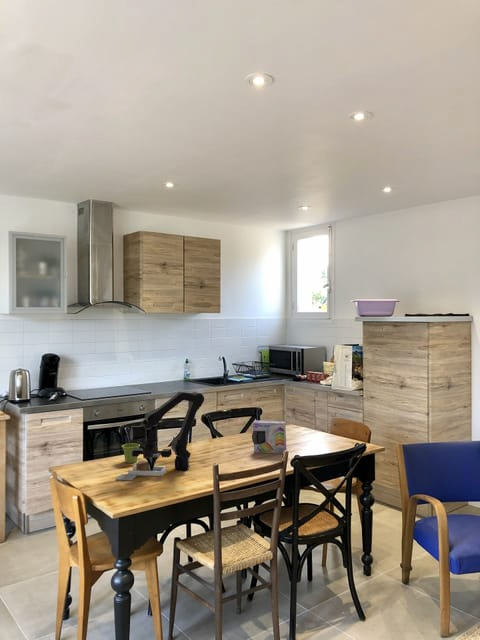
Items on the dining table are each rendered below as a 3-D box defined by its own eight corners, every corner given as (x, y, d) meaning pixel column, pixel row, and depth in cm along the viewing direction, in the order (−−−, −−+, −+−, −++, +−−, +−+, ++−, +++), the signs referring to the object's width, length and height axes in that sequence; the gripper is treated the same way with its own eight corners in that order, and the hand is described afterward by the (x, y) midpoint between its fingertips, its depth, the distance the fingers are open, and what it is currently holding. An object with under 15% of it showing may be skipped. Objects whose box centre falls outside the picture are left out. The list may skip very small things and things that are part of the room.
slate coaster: (137, 475, 250) (137, 474, 250) (132, 480, 242) (132, 479, 242) (121, 475, 251) (121, 474, 251) (115, 480, 243) (115, 479, 243)
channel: (166, 470, 259) (166, 466, 259) (161, 475, 249) (161, 471, 249) (133, 469, 260) (133, 465, 260) (128, 474, 251) (128, 470, 251)
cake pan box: (251, 452, 293) (251, 421, 293) (254, 450, 298) (253, 419, 298) (284, 454, 288) (284, 423, 288) (286, 452, 293) (286, 421, 293)
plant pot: (122, 464, 269) (122, 448, 269) (121, 460, 278) (121, 443, 278) (140, 463, 272) (140, 446, 272) (139, 458, 281) (139, 442, 281)
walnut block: (149, 471, 257) (149, 461, 257) (146, 474, 252) (146, 463, 252) (139, 470, 258) (139, 460, 258) (136, 473, 253) (136, 463, 253)
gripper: (128, 441, 248) (128, 474, 248) (166, 442, 246) (166, 475, 246) (135, 436, 259) (135, 467, 259) (171, 437, 257) (172, 468, 257)
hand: (151, 470), depth 255 cm, fingers closed
